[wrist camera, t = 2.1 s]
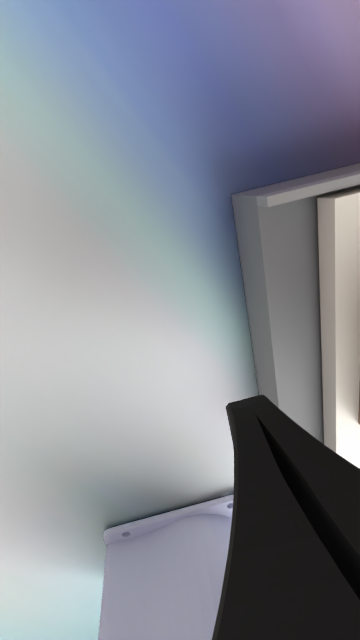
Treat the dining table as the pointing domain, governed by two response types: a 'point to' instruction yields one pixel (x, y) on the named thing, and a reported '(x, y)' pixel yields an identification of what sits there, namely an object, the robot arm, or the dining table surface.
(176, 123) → the dining table surface
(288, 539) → the robot arm
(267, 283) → the box
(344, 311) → the cover
